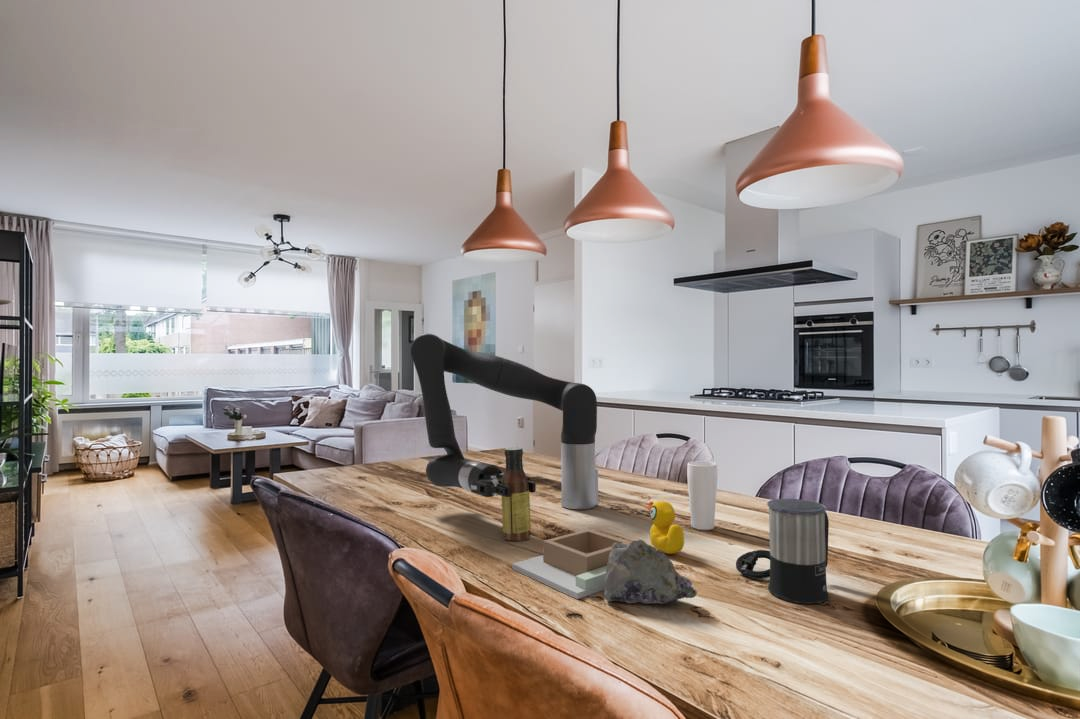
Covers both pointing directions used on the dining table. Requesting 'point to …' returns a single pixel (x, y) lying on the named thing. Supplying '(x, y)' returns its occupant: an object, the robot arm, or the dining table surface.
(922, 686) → the dining table surface
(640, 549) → the mineral rock
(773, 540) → the milk frother
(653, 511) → the duckling
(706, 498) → the white tumbler
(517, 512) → the sauce bottle
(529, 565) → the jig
